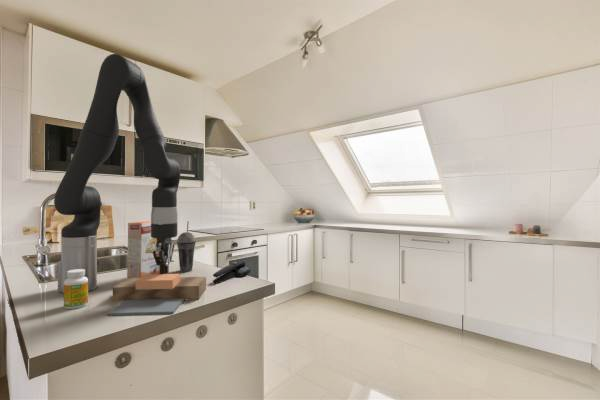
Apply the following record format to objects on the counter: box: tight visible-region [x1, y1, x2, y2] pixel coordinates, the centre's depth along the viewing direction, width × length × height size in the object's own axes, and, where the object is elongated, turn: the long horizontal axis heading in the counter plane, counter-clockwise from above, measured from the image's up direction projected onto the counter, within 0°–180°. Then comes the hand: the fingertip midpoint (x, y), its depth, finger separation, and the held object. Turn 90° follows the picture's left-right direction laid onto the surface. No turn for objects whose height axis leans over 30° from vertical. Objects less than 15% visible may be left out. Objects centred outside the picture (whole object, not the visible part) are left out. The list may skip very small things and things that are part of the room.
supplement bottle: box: [63, 269, 89, 310], centre depth 83 cm, size 5×5×10 cm
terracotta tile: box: [136, 273, 181, 290], centre depth 89 cm, size 10×7×2 cm
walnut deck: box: [112, 276, 207, 302], centre depth 93 cm, size 24×10×4 cm, turn 96°
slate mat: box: [107, 298, 185, 316], centre depth 82 cm, size 16×10×1 cm, turn 96°
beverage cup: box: [176, 220, 196, 273], centre depth 122 cm, size 7×7×20 cm
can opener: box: [212, 260, 251, 284], centre depth 113 cm, size 18×7×6 cm, turn 151°
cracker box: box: [126, 220, 160, 279], centre depth 111 cm, size 14×6×21 cm, turn 168°
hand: (164, 277), depth 94 cm, fingers closed
